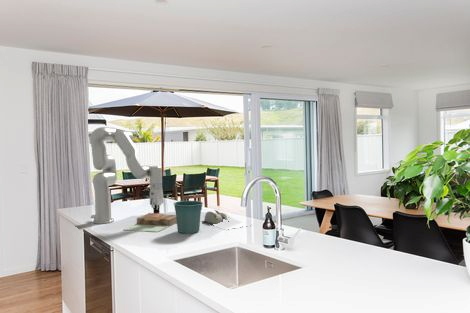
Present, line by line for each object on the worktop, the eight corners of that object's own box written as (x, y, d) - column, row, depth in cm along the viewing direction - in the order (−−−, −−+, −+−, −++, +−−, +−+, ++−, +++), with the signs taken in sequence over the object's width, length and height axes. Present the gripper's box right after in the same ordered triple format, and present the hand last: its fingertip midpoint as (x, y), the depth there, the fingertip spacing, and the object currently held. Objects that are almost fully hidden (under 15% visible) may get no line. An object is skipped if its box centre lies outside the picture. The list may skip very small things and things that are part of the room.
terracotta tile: (144, 220, 229) (144, 216, 228) (149, 216, 235) (148, 212, 234) (158, 220, 226) (157, 216, 226) (162, 217, 232) (162, 213, 232)
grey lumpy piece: (197, 209, 242) (223, 206, 254) (197, 221, 243) (223, 217, 254) (226, 217, 216) (254, 213, 227) (226, 231, 216) (254, 226, 228)
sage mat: (123, 230, 219) (123, 229, 219) (136, 224, 233) (136, 224, 233) (157, 232, 213) (157, 231, 213) (169, 226, 227) (169, 225, 227)
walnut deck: (136, 224, 234) (136, 217, 233) (148, 219, 247) (148, 213, 247) (169, 226, 228) (169, 219, 227) (179, 221, 241) (179, 215, 241)
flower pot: (209, 229, 217) (208, 201, 217) (191, 236, 203) (191, 206, 203) (186, 226, 226) (185, 199, 225) (167, 232, 212) (167, 204, 211)
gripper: (155, 187, 226) (156, 218, 227) (166, 184, 240) (167, 213, 241) (144, 187, 228) (145, 218, 229) (156, 184, 242) (156, 213, 243)
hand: (156, 215), depth 235 cm, fingers closed
